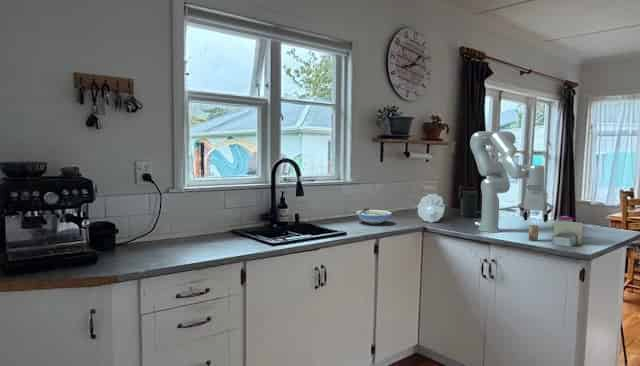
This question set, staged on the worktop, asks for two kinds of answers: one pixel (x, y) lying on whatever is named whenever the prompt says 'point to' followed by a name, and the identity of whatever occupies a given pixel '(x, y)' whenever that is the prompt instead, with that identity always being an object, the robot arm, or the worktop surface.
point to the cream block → (567, 233)
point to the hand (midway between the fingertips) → (535, 220)
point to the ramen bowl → (373, 216)
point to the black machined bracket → (468, 202)
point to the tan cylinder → (533, 233)
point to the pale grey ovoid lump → (431, 208)
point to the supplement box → (565, 218)
